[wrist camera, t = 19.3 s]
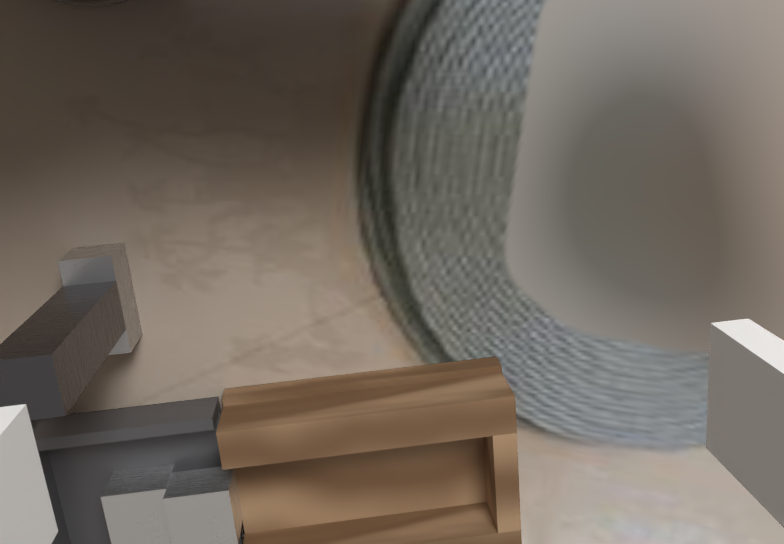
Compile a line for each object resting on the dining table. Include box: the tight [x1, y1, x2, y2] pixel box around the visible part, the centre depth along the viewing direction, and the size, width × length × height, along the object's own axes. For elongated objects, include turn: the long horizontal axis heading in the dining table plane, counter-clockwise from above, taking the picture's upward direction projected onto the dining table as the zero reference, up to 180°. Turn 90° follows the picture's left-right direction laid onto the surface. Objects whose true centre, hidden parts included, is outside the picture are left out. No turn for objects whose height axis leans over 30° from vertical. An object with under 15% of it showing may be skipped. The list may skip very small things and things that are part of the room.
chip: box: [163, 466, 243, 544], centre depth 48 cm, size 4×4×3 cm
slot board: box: [216, 357, 522, 544], centre depth 49 cm, size 13×18×5 cm
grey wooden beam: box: [0, 243, 142, 420], centre depth 40 cm, size 6×3×14 cm, turn 5°
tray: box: [30, 397, 243, 544], centre depth 49 cm, size 12×12×3 cm
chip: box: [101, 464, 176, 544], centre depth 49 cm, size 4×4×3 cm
